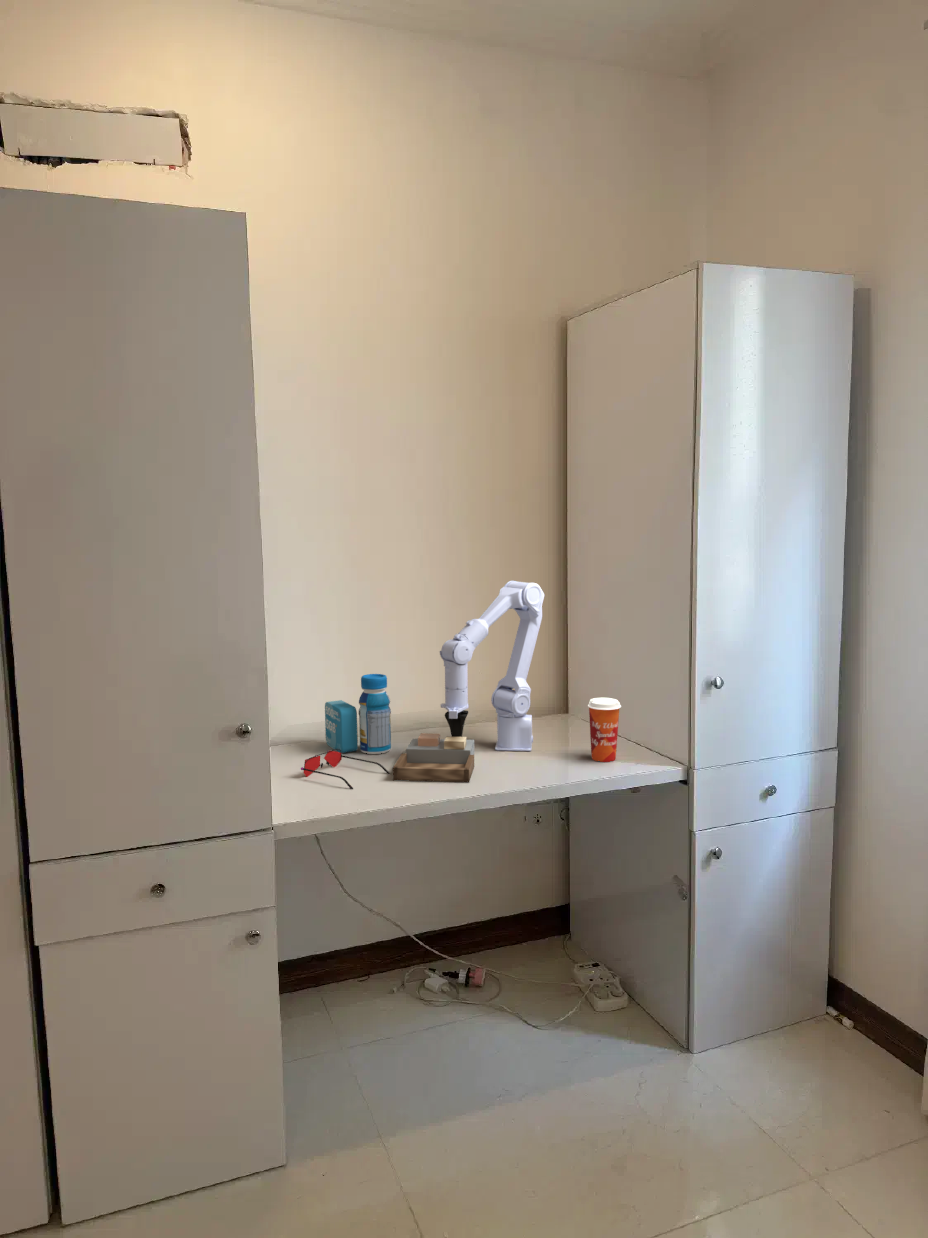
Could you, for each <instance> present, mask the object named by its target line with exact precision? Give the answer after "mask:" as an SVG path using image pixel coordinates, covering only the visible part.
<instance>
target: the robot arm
mask: <svg viewBox="0 0 928 1238" xmlns="http://www.w3.org/2000/svg"><path fill="white" fill-rule="evenodd" d="M498 593H499V594H498V595H497V597H496V598H494V600H493V601H492V602H491V604H489V606H488V607H487V608H486V609H485V610H484V611H483V613H482V614H481V615H480V617H479V618H472V619H469V620H467V621H466V622H465V625H464V627H463V628H462V629H460V631H459V632H458V633H455V634H454V636H453V639H447V640H446V641H445V642H444V643H443V645H442V647H441V650H439V655H440V658H441V659H442V661H443V667H444V692H445V693H444V697H445V699H444V701H445V702H444V703H440V708H443V709H445V710H446V712H445V713H444V718H445V720H446V721H447V724H448V727H449V730H450V736H451V737H463V733H464V726H465V721H466V719H467V716H468V715H469V710H468V709H469V708H470V707H469V705H470V704H469V698H468V697H469V695H468V694H469V687H468V685H469V684H468V683H469V682H468V679H469V678H468V677H469V676H468V674H469V673H468V672H469V670H468V668H469V667H468V666H469V665H468V663H469V662H471V660H472V658H473V653H474V651H475V650H476V648H477V647H478V646H479V645H480V644H481V643H482V642H483V641H484V640H485V639H486V638H487V636H489V628H490V627H491V626H493V625H494V624H495V623H496V622H497V621H498V620H499V619H500V618H501V617H502V616H503V615H504V614H505V613H506V612H508V611H509V610H511V609H513V610H514V611H515V613H517V615H518V617H519V619H520V620H519V624H518V627H517V631H516V634H515V638H514V643H513V647H512V650H511V653H510V659H509V662H508V666H507V670H506V675H505V676H504V677H502V678H501V679H500V680H499V681H498V682H497V685H496V688H495V689H494V690H493V692H492V695H491V704H492V707H493V708H494V709H495V713H496V714H497V715H496V716H497V719H496V723H497V725H496V726H497V727H496V728H497V731H496V732H497V740H496V744H495V747H494V750H495V751H511V752H512V751H517V752H521V751H522V752H531V751H532V748H533V747H532V746H533V743H534V735H533V715H532V714H527V713H528V711H529V710H530V707H531V692H532V688H531V687H530V685H529V684H528V682H527V679H528V674H529V670H530V667H531V663H532V660H533V656H534V652H535V647H536V643H537V639H538V635H539V632H540V627H541V624H542V620H543V607H542V606H543V604H544V603H543V602H544V599H545V593H544V591H543V590H542V588H541V586H540V585H539V584H538V583H535V582H525V581H516V580H509V581H508V582H506V583H505V584H504V586H503V587H501V588H500V589H499V592H498Z"/></svg>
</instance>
